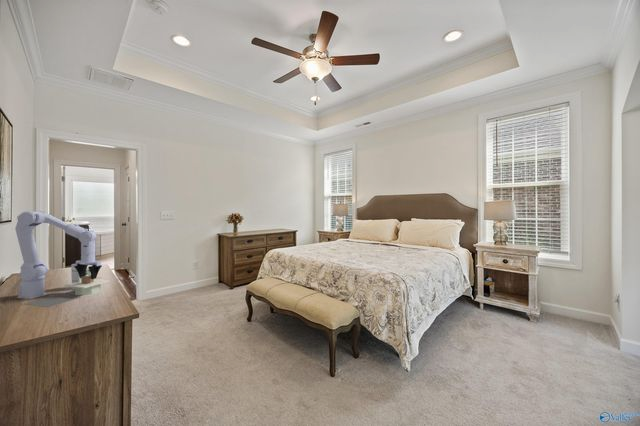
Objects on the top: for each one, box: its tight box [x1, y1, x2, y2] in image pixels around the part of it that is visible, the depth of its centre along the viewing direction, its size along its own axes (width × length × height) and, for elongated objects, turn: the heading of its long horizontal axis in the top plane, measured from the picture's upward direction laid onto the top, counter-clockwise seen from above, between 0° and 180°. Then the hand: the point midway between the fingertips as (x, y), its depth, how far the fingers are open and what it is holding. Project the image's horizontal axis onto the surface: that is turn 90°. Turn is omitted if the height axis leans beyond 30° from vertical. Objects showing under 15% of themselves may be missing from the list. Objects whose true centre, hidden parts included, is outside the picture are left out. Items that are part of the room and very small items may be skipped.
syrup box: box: [70, 263, 91, 290], centre depth 148 cm, size 6×6×14 cm
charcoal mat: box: [23, 294, 81, 308], centre depth 128 cm, size 16×14×1 cm
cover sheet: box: [63, 274, 110, 288], centre depth 141 cm, size 13×13×4 cm
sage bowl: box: [74, 284, 102, 296], centre depth 141 cm, size 10×10×5 cm
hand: (88, 278), depth 141 cm, fingers open, 7 cm apart
